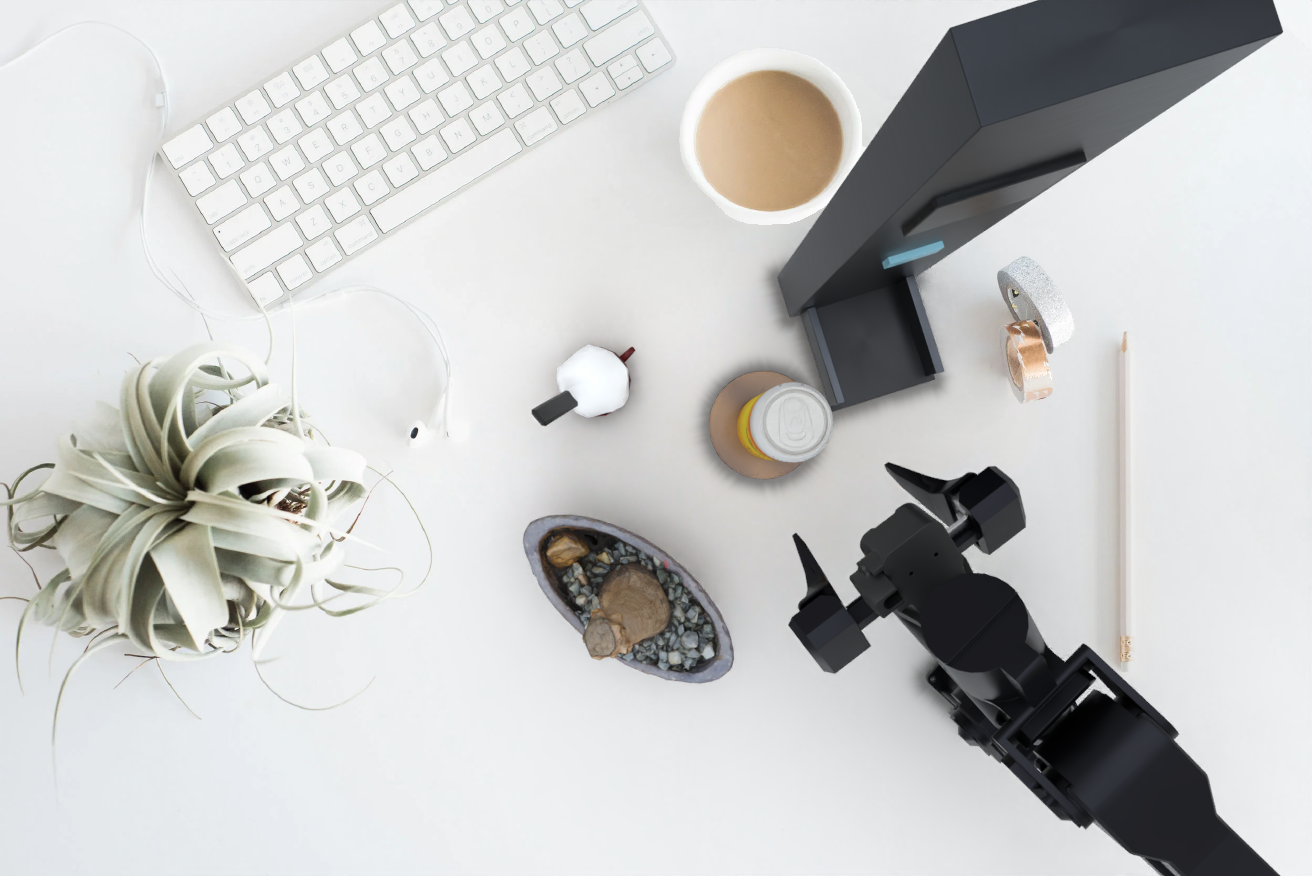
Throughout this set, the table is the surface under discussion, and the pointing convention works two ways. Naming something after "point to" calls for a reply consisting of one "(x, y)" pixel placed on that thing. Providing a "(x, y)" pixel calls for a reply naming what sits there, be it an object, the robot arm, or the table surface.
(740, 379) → the cork coaster
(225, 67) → the table surface
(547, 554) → the planter
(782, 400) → the beer can
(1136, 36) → the dispenser
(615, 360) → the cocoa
